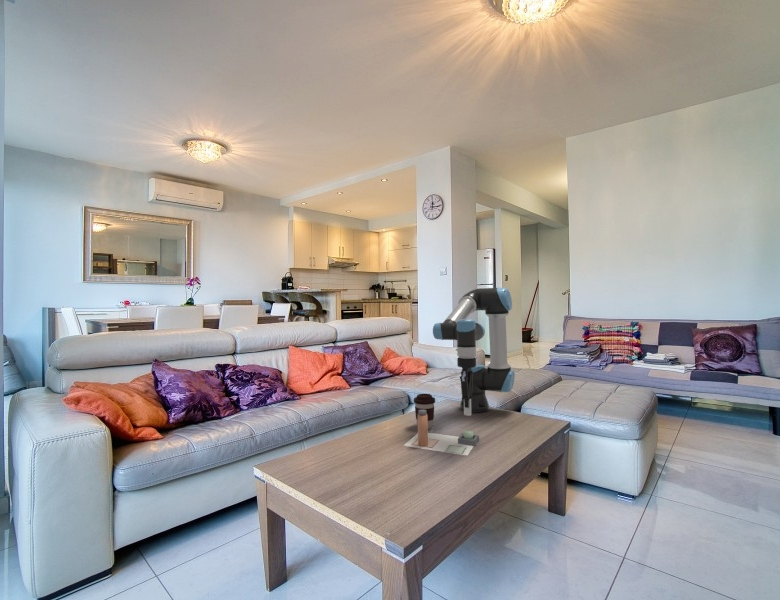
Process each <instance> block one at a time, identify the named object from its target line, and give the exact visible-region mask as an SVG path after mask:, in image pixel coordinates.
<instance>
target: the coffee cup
mask: <svg viewBox="0 0 780 600" xmlns="http://www.w3.org/2000/svg"><path fill="white" fill-rule="evenodd" d="M413 403H414V404H415V406H414V411H415V412H414V414H415V420H416V427H417V428H418V414H419V412H418V411H419V410H426V414H427V416H428V430H430V429H433V428H434V419H435V403H436V398H435V397H433V396H432V394H430V393H419V394H416V396H415V397H414V398H413Z"/></svg>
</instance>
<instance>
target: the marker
mask: <svg viewBox="0 0 780 600" xmlns="http://www.w3.org/2000/svg"><path fill="white" fill-rule="evenodd" d="M418 412H419V414H418V427H417V433H418V445H419V446H427V445H428V433H429V429H428V416H427V414H426V410H419V411H418Z"/></svg>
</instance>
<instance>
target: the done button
mask: <svg viewBox="0 0 780 600" xmlns="http://www.w3.org/2000/svg"><path fill="white" fill-rule="evenodd" d="M462 433H463V435H464V439H472V440H473V439H474V437H473V434H474V431H473V430H466V429H465V430H463V431H462Z"/></svg>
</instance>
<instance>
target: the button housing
mask: <svg viewBox="0 0 780 600" xmlns="http://www.w3.org/2000/svg"><path fill="white" fill-rule="evenodd" d="M458 437H459V438H458V444H465V445H472V446H474V447H475V446H476V445H477V444H478V442H479V441H480V434H474V433H473V437H474V439H473V440H472V439H464V435H463V432H462V433H461V434H460V435H459V436H458Z"/></svg>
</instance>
